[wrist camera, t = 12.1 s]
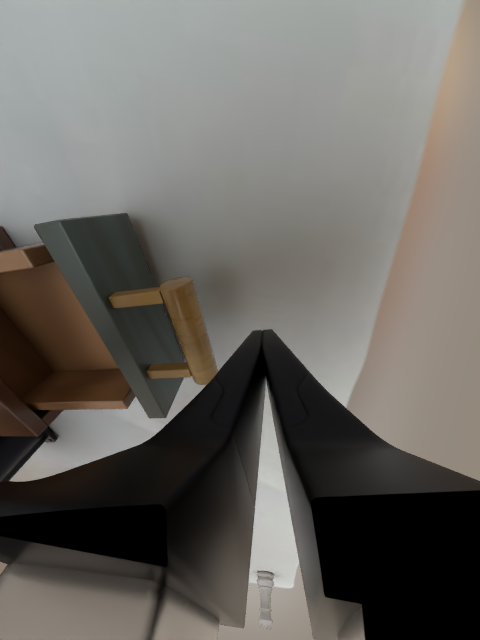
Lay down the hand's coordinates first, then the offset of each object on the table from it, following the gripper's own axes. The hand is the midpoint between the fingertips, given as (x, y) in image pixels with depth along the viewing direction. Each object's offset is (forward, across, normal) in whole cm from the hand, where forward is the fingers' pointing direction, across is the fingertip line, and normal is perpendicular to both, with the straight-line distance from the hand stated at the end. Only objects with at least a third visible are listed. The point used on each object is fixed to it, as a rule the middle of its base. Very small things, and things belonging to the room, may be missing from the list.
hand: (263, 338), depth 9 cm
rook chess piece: (+6, +7, +79) cm, 79 cm away
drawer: (+4, +10, 0) cm, 11 cm away
